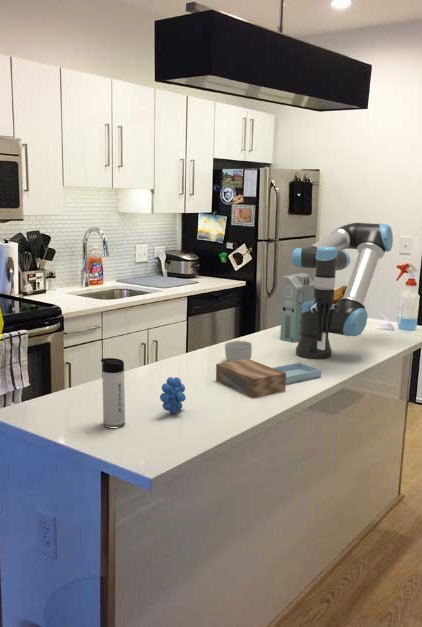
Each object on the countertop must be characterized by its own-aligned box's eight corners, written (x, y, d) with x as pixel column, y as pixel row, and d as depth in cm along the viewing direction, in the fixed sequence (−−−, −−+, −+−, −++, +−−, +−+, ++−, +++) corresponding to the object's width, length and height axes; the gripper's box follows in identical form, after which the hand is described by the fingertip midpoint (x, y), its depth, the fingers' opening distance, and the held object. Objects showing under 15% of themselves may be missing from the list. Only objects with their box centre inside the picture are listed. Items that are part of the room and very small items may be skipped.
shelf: (246, 375, 234) (246, 358, 233) (285, 390, 216) (285, 373, 215) (216, 381, 226) (216, 363, 225) (253, 398, 208) (254, 379, 207)
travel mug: (103, 421, 186) (101, 356, 182) (125, 420, 186) (124, 356, 182) (101, 428, 180) (99, 362, 176) (124, 428, 180) (123, 361, 176)
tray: (299, 369, 242) (299, 362, 242) (321, 377, 233) (321, 369, 232) (259, 377, 231) (259, 370, 231) (280, 386, 221) (280, 378, 221)
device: (294, 342, 285) (296, 278, 280) (280, 340, 290) (282, 276, 284) (312, 336, 298) (315, 274, 292) (299, 334, 303) (301, 273, 297)
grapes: (172, 421, 186) (172, 383, 184) (155, 417, 190) (154, 379, 187) (195, 410, 195) (195, 374, 193) (177, 406, 199) (178, 370, 197)
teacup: (249, 367, 245) (249, 347, 243) (222, 365, 247) (222, 345, 246) (253, 358, 258) (254, 339, 257) (228, 356, 261) (228, 337, 259)
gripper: (329, 285, 241) (326, 345, 245) (304, 287, 233) (301, 349, 238) (344, 288, 235) (340, 349, 239) (318, 290, 227) (315, 353, 232)
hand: (321, 349), depth 238 cm, fingers closed
